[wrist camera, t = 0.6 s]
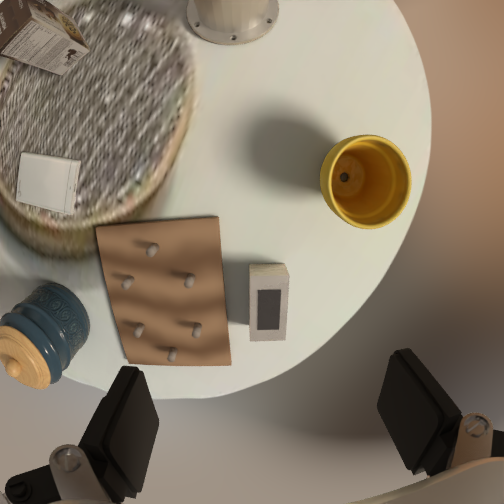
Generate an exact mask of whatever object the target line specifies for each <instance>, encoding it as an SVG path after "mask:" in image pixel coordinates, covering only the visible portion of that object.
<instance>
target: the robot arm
mask: <svg viewBox="0 0 504 504" xmlns="http://www.w3.org/2000/svg"><path fill="white" fill-rule="evenodd" d="M278 13H279V4H278V1H277V0H189V2H188V4H187V10H186V14H187V19H188V22H189V24H190V26H191V28H192V29H193V30H194V32H195V33H196V34H198V35H199V36H200V37H202V38H203V39H205V40H208V41H210V42H213V43H217V44H223V45H238V44H245V43H248V42H251V41H254V40H256V39H258V38H260V37H262V36H263V35H265V34H266V33H268V32H269V31H270V29H271V28H272V27H273V26H274V24H275V23H276V20H277V17H278ZM267 22H269V23H267ZM197 26H199V27H197ZM232 39H235V40H232ZM377 409H378V412H379V414H380V416H381V418H382V419H383V422H384V423H385V426H386V428H387V429H388V432H389V433H390V436H391V438H392V439H393V442H394V443H395V446H396V448H397V450H398V452H399V454H400V456H401V458H402V460H403V462H404V464H405V466H406V468H407V469H408V470H411V471H412V473H413V475H416V474H419V473H421V472H424V471H426V473H427V478H426V479H424V480H422V481H419V482H416V483H414V484H411V485H408V486H405V487H402V488H400V489H397V490H394V491H391V492H388V493H384V494H382V495H378V496H374V497H371V498H367V499H364V500H360V501H355V502H351V503H347V504H504V432H502V431H498V430H493V424H492V422H491V420H490V419H489V418H488V417H487V416H485V415H484V414H481V413H469V414H467V415H465V416H464V417H463V416H462V415H461V411H460V410H459V409H458V407H457V406H456V405H455V403H454V402H453V401H452V399H451V398H450V397H449V396H448V394H447V393H446V392H445V391H444V389H443V388H442V387H441V386H440V384H439V383H438V382H437V381H436V380H435V378H434V377H433V376H432V374H431V373H430V372H429V371H428V370H427V368H426V367H425V366H424V365H423V363H422V362H421V361H420V360H419V359H418V358H417V356H416V355H415V354H414V353H413V352H412V350H411V349H409V348H405V349H401V350H396V351H395V352H394V354H393V355H391V356H390V359H389V364H388V368H387V371H386V375H385V379H384V382H383V386H382V389H381V393H380V396H379V399H378V403H377ZM158 427H159V418H158V415H157V412H156V410H155V407H154V404H153V401H152V398H151V395H150V392H149V389H148V386H147V382H146V379H145V376H144V373H143V371H139V369H138V367H133V366H122V367H121V369H120V371H119V373H118V374H117V376H116V378H115V380H114V382H113V384H112V385H111V387H110V389H109V391H108V393H107V395H106V396H105V397H103V398H102V400H101V402H100V403H99V406H98V407H97V409H96V411H95V413H94V415H93V417H92V419H91V421H90V423H89V425H88V427H87V429H86V431H85V433H84V435H83V437H82V439H81V441H80V443H79V445H78V446H75V445H69V444H66V445H62V446H59V447H57V448H56V449H55V450H54V451H53V452H52V453H51V455H50V458H49V465H46V466H43V467H40V468H37V469H35V470H32V471H28V472H25V473H22V474H19V475H16V476H13V477H11V478H10V479H9V480H8V482H7V483H6V487H5V493H2V492H1V491H0V504H123V501H124V499H125V497H130V498H136V494H137V492H141V491H142V487H143V483H144V479H145V475H146V472H147V468H148V464H149V460H150V456H151V453H152V449H153V445H154V442H155V438H156V434H157V431H158Z"/></svg>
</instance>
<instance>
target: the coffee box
mask: <svg viewBox="0 0 504 504" xmlns="http://www.w3.org/2000/svg"><path fill="white" fill-rule="evenodd" d="M89 51H90V48H89V46H88V44H87V43H86V41H85V39H84V37H83V35H82V33H81V32H80V30H79V28H78V26H77V24H76V22H75V20H74V19H73V18H71V17H70V16H68V15H67V14H65V13H64V12H62V11H61V10H59V9H58V8H56V7H55V6H53V5H52V4H50V3H49V2H47V1H46V0H4V1H3V2H2V3H1V4H0V56H3V57H7V58H10V59H13V60H16V61H20V62H23V63H26V64H29V65H32V66H35V67H38V68H41V69H44V70H47V71H50V72H52V73H55V74H58V75H63V74H64V73H65V72H66V71H67V70H68V69H69V68H70V67H72V66H73V65H74V64H75V63H76V62H77V61H79V60H80V59H81V58H82V57H83V56H84V55H86V54H87V53H88V52H89Z"/></svg>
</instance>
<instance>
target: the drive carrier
mask: <svg viewBox="0 0 504 504" xmlns="http://www.w3.org/2000/svg"><path fill="white" fill-rule="evenodd" d="M288 292H289V273H288V271H287V268H286V265H285V264H249V332H250V341H277V340H285V337H286V323H287V308H288Z"/></svg>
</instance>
